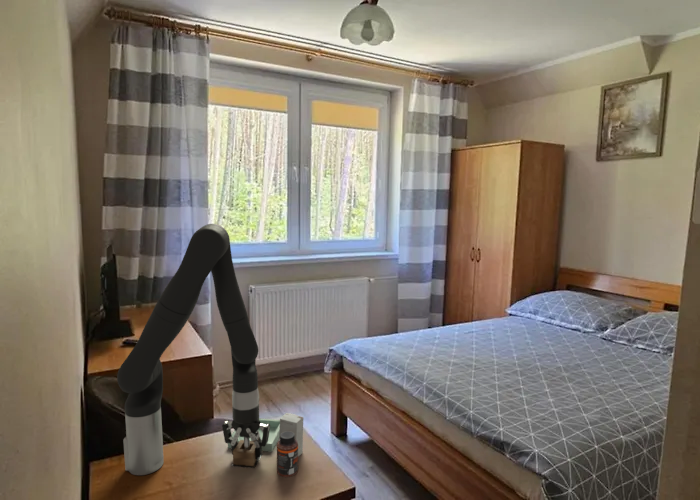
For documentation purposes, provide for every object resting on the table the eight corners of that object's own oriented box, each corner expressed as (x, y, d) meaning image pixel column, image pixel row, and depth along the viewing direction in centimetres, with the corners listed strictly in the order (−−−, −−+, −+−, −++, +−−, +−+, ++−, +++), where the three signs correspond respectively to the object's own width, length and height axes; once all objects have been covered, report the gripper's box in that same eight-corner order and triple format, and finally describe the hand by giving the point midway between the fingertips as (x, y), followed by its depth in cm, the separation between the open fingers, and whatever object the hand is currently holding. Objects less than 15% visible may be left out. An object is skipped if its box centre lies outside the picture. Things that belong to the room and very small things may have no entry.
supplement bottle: (297, 478, 124) (297, 440, 123) (276, 479, 124) (275, 441, 122) (298, 465, 130) (298, 428, 129) (278, 465, 130) (277, 429, 128)
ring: (233, 464, 129) (232, 451, 128) (241, 450, 136) (241, 437, 135) (253, 466, 128) (253, 453, 128) (261, 451, 135) (260, 439, 135)
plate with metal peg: (231, 467, 129) (230, 441, 128) (240, 453, 136) (239, 428, 134) (254, 470, 128) (254, 443, 127) (262, 455, 135) (262, 430, 134)
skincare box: (278, 456, 134) (278, 418, 133) (286, 448, 138) (286, 411, 137) (296, 461, 132) (296, 423, 130) (304, 453, 136) (303, 416, 134)
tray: (227, 449, 138) (227, 440, 137) (244, 425, 151) (244, 417, 151) (272, 453, 136) (272, 443, 135) (284, 428, 150) (284, 420, 149)
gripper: (216, 407, 126) (218, 462, 129) (265, 410, 125) (266, 466, 127) (226, 395, 134) (228, 447, 136) (273, 398, 132) (274, 451, 134)
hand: (246, 456), depth 132 cm, fingers closed on ring, 6 cm apart
